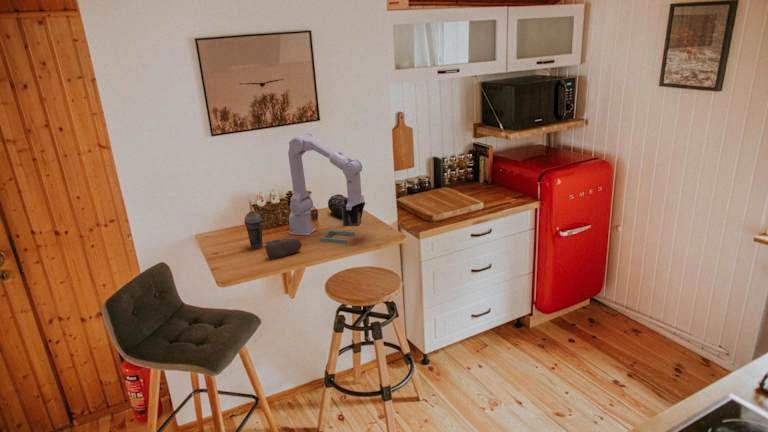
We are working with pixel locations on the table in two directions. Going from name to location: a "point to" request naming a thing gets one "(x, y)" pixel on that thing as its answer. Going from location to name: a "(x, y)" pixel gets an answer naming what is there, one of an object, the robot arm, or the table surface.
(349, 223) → the walnut block
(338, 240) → the channel
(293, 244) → the perforated stone tool
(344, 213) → the supplement bottle
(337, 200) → the pine cone
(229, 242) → the table surface
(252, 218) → the beverage cup
